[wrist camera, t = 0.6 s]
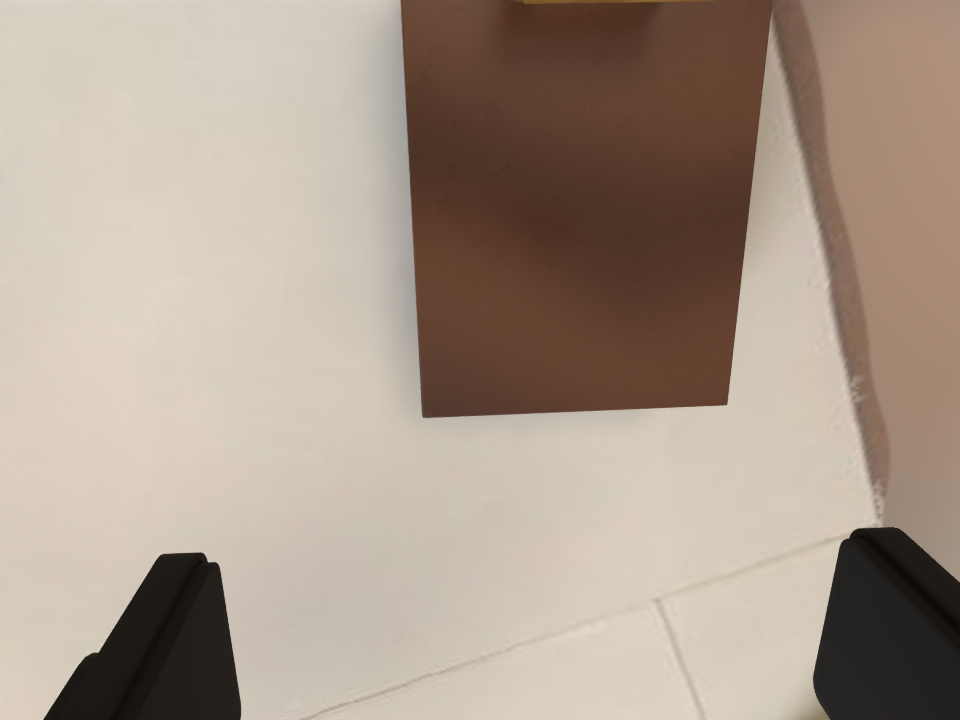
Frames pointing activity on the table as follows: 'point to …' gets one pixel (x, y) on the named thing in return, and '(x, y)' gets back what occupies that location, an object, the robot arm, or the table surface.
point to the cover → (579, 198)
